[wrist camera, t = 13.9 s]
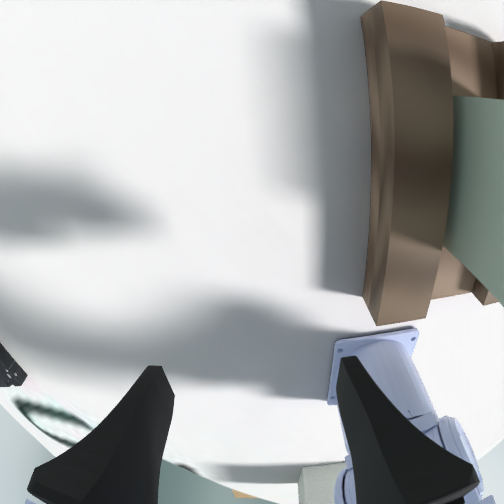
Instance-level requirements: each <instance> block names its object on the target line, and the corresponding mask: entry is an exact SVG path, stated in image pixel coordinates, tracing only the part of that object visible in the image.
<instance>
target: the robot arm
mask: <svg viewBox="0 0 504 504" xmlns="http://www.w3.org/2000/svg"><path fill="white" fill-rule="evenodd" d="M418 335H419V331H418V329H417V328H413V329H407V330H402V331H396V332H390V333H384V334H377V335H371V336H364V337H356V338H349V339H341V340H338V341H336V342H335V345H334V354H333V362H332V370H331V377H330V384H329V391H328V398H327V404H328V405H337V406H338V411H339V416H340V421H341V426H342V431H343V436H344V441H345V446H346V449H347V452H348V453H349V455H347V456H346V457H345V461H346V468H344V469H343V470H342V471H340V473H339V474H338V477H337V479H336V483H335V487H334V502H335V504H495V501H494V498H493V496H492V495H490V496H488V497H487V498H485V499H483V500H482V493H483V489H484V488H483V481H482V477H481V474H480V472H479V468H478V464H477V461H476V458H475V455H474V452H473V450H472V447H471V445H470V443H469V440H468V438H467V436H466V434H465V432H464V430H463V429H462V427H461V425H460V424H459V422H458V421H457V419H456V418H452V417H448V416H444V417H442V418H441V419H439V418H438V416H437V414H436V411H435V409H434V407H433V404H432V402H431V400H430V397H429V395H428V393H427V391H426V388H425V386H424V384H423V382H422V380H421V378H420V375H419V373H418V371H417V369H416V367H415V365H414V363H413V361H412V359H411V356H412V354H413V351H414V348H415V345H416V342H417V339H418ZM412 337H413V338H412ZM339 349H340V350H339ZM174 397H175V395H174V393H173V391H172V388H171V386H170V384H169V382H168V380H167V377H166V375H165V373H164V371H163V368H162V366H148V367H147V368H146V369H145V370H144V371H143V373H142V374H141V375H140V377H139V378H138V379H137V381H136V382H135V383H134V384H133V386H132V387H131V388H130V390H129V391H128V392H127V393H126V395H125V396H124V397H123V398H122V400H121V401H120V402H119V403H118V404H117V406H116V407H115V408H114V409H113V410H112V411H111V412H110V413H109V414H108V416H107V417H106V418H105V419H104V420H103V421H102V422H101V423H100V424H99V425H98V426H97V427H96V428H95V429H94V430H93V431H91V432H90V433H89V434H88V435H87V436H86V437H84V438H83V439H82V440H81V441H79V442H78V443H77V444H76V445H74V446H73V447H72V448H70V449H69V450H67V451H66V452H64V453H62V454H61V455H59V456H58V457H56V458H54V459H52V460H50V461H49V462H47V463H45V464H42V465H40V466H38V467H36V468H35V469H34V472H33V474H32V477H31V480H30V482H29V485H28V488H27V490H28V492H29V493H31V494H32V495H33V496H35V497H37V498H38V499H40V500H41V501H43V502H45V503H46V504H158V486H159V485H158V484H159V475H160V466H161V461H162V456H163V452H164V448H165V444H166V440H167V436H168V432H169V428H170V424H171V420H172V414H173V407H174ZM25 504H36V503H34V502H32V501H30V500H29V499H27V500H26V502H25Z"/></svg>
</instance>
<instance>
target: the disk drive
mask: <svg viewBox="0 0 504 504" xmlns="http://www.w3.org/2000/svg"><path fill="white" fill-rule="evenodd" d="M27 376H28V375H27V374H26V373H25V372H24V371H23V369H22V368H21V367H20V366H19V365H18V363H17V362H16V361H15V360H14V359H13V358H12V357H11V355H10V354H9V353H8V352H7V351H6V349H5V348H4V347H3V346H2V344H1V343H0V387H10V386H11V385H14V386H21V385H22V384H23V382H24V381H25V379H26V377H27Z"/></svg>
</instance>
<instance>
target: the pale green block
mask: <svg viewBox="0 0 504 504" xmlns="http://www.w3.org/2000/svg"><path fill="white" fill-rule="evenodd" d="M443 246H444V247H445V248H446V249H447V250H448V251H449V252H450V253H451V254H453V255H454V256H455V257H456V258H457V259H458V260H459V261H460V262H461V263H462V264H463V265H464V266H465V267H466V268H467V269H468V270H469V271H470V272H471V273H472V274H473V275H474V276H475V277H476V278H477V279H478V280H479V281H480V282H481V283H482V284H483V285H484V286H485V287H486V288H487V289H488V290H489V291H490V292H491V294H492V295H493V296H494V297H495V298H496V299H497V300H498V301H499V302H500V303H501V304H502V306H503V307H504V100H500V99H490V98H479V97H465V96H453V162H452V177H451V188H450V198H449V207H448V215H447V222H446V228H445V235H444V241H443Z"/></svg>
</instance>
